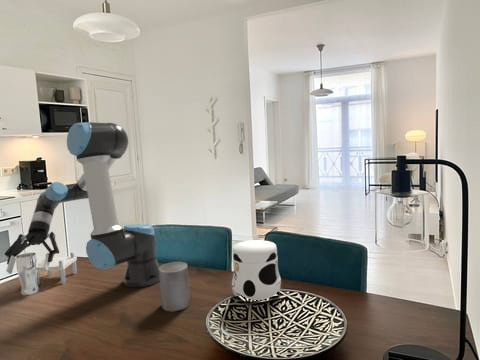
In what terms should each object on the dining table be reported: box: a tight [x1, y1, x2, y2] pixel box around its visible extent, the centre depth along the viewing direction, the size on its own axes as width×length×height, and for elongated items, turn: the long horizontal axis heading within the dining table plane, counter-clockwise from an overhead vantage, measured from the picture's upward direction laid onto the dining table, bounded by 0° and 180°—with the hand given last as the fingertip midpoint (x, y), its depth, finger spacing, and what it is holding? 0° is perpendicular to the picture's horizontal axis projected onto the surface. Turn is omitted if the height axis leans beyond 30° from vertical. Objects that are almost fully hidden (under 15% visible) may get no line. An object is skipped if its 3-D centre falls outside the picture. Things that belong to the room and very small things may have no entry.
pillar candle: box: [159, 261, 191, 313], centre depth 119 cm, size 10×10×15 cm
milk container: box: [231, 239, 282, 300], centre depth 123 cm, size 17×17×18 cm
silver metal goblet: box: [15, 252, 40, 296], centre depth 137 cm, size 7×7×15 cm
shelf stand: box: [37, 251, 78, 286], centre depth 151 cm, size 13×13×10 cm
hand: (27, 270), depth 138 cm, fingers open, 13 cm apart
